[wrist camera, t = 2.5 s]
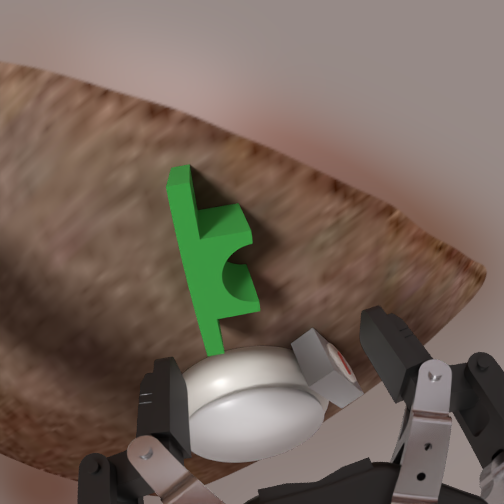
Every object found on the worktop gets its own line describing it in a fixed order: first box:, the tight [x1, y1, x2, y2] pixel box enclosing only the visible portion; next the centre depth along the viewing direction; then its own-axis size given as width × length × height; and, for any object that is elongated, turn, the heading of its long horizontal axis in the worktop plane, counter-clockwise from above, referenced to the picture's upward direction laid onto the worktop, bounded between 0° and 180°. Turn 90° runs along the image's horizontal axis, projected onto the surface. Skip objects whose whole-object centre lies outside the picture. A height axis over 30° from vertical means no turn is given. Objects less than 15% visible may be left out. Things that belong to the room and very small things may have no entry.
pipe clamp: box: [166, 164, 260, 356], centre depth 19 cm, size 11×4×5 cm, turn 6°
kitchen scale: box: [182, 328, 364, 462], centre depth 26 cm, size 18×15×5 cm
